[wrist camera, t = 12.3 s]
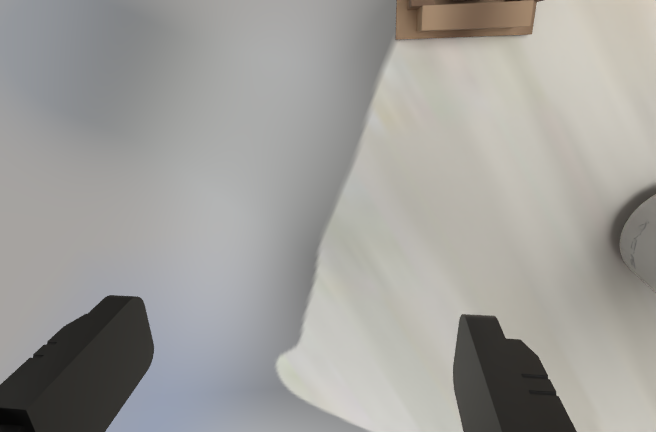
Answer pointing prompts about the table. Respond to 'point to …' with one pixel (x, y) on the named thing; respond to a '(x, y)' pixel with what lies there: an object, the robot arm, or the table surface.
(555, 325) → the table surface
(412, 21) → the cradle
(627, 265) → the robot arm
